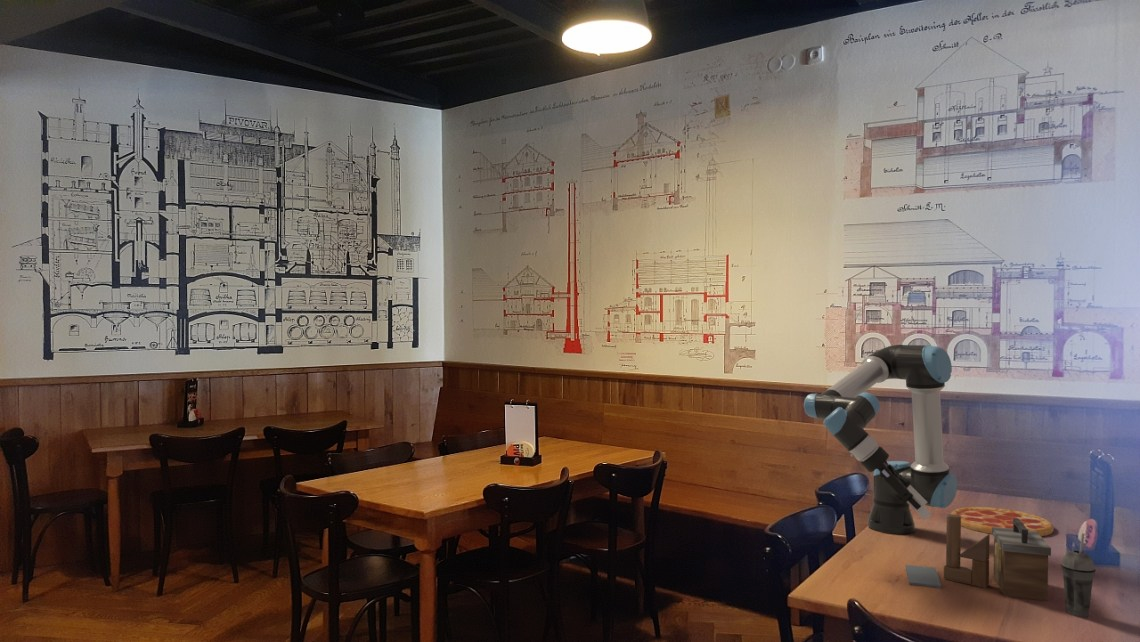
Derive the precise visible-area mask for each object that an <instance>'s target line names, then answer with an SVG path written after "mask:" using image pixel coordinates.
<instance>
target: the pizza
mask: <svg viewBox="0 0 1140 642" xmlns="http://www.w3.org/2000/svg"><path fill="white" fill-rule="evenodd" d="M950 514H955V515H959V516H960V517H961V528H965V529H968V530H971V531H974V532H980V533H983V534H987V535H988V534H990V535H992V527H999V528H1010V529H1013V518H1018V519H1019V520H1020V521H1021V522H1022V523H1023V524H1024V526H1025V527H1026V528H1027V529H1028V530H1031V531H1037V532H1038V534H1039V535H1040V536H1041V537H1042V538H1043V537H1046V536H1049V535H1051V534H1053V532H1054V527H1055V526H1054V525H1053V523H1052V522H1050V521H1049V520H1048V519H1046V518H1043V517H1042V516H1038V515H1036V514H1032V513H1029V512H1025V511H1024V512H1023V511H1018V510H1013V509H1007V508H998V507H988V506H987V507H986V506H969V507H960V508H956V509H954V510H952V511H951V513H950Z"/></svg>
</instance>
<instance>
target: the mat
mask: <svg viewBox="0 0 1140 642" xmlns="http://www.w3.org/2000/svg"><path fill="white" fill-rule="evenodd" d="M905 571H906V575H907V579H908V584H909V585H911V586H912V585H913V586H920V587H926V588H938V589H942V587H943V586H942V583H941V580H940V577H939V574H938V571H937V568H935V567H929V566H921V565H912V564H905Z"/></svg>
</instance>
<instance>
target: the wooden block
mask: <svg viewBox="0 0 1140 642" xmlns="http://www.w3.org/2000/svg"><path fill="white" fill-rule="evenodd" d="M961 529H962V526H961V517H960V516H959V515H955V514H951V513H949V514H947V515H946V545H945V548H946V549H945V551H946V552H945V565H944V567H943V579H944V580H948V581H953V582H958V583H960V584H961V583H962V584H967V585H972V586H974V587H979V588H983V589H986V588H987V587H988V586H989V585H990V539H991V537H990V535H991V534H988V533H987V535H985V536H984V537H982V538H981V539H980V540H978V541H977V542H975V543H974V544H973V545H971V546H970V547H968V548H967V549H965V550H964V551H961V546H962V545H961V544H962V543H961V539H962V538H961V536H962V530H961ZM961 552H962V553H961ZM961 558H964V559H969V560H972V561H971V569H970V567H966V566H961Z"/></svg>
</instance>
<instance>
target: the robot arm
mask: <svg viewBox="0 0 1140 642" xmlns="http://www.w3.org/2000/svg"><path fill="white" fill-rule="evenodd" d="M952 368H953V367H952V360H951V357H950V355H949V353H948V352H947V351H946V350H945V349H944V348H943V347H941V346H933V345H928V344H927V345H925V344H922V345H920V344H919V345H918V344H893V345H888V346H886V347H883V348H881V349H879V350H877V351H876V350H875V352H873V353H870V355H868V356H867V357H865V358H864V359H863V360H862V362H861V365H859V366H858V367H857V368H854V369H853V370H852V371H850V372H849V373H848V374H847V375H845V376H844V377H843V378H841V379H840V380H838V381H837V382H836V383H834V384H833V385H831V386H830V387H829V388H827V389H826V390H824V391H823V392H822V393H810V394H808V395H806V397H805V398H804V402H803V409H804V413H805V415H807V416H808V417H810V418H815V419H817V420H819V419H820V420H821V419H822V420H823V426H824V428H826V429H827V430H828V432H829V433H830V434H831V435H832V436H833V437H834V438H835V439H836V440H837V441H838V442H839V443H840V444H841V445H842V446H843V447H844V448H845V449H846V450H847V451H848V452H849V453H850V457H851V458H855V459H856V460H857V461H858V462H861V465H862V466H863V468H864V469H865V470H866V471H867V472H869V473H872V472H873V475H872V476H873V504H872V507H871V510H870V512H869V516H868V519H867V527H868V528H870V529H871V530H875V531H877V532H882V533H887V534H896V535H897V534H898V535H901V534H902V535H905V534H907V535H908V534H912V533H914V532H915V531H916V524H915V521H914V518H913V515H912V511H911V508H912V509H913V510H914V511H915V512H916V513H917V514H918V515H919V516H920V518H922V519H923V521H925V520H926V519H928V518H929V517H930V516H931V515H933V513H932V512H931V510H929V509H928V507H931V508H938V509H939V508H940V509H946V508H948V507H950V506H951V505H952V503H953V502H954V500H955V497H956V496H957V495H956V494H957V491H958V483H959V482H958V479H957V476H956V475H955V474H953V473H950V466H949V464H947V463H946V462H945V459H944V445H943V444H944V442H943V441H944V440H943V426H942V425H943V424H942V423H943V422H942V406H941V402H942V401H941V391H942V390H943V389H944V388H945V386H946V384H945V383H946V382H948V381H949V380H950V379H951V376H952V375H951V374H952V370H953V369H952ZM892 379H894V380H898V379H899V380H905V384H906V388H907V389H908V390H909V391H910V392H911V403H912V405H911V406H912V419H913V421H912V422H913V425H912V426H913V440H914V441H913V443H914V457H915V458H914V459H915V461H913V462H912V463H910V461H904V460H893V461H891V460H889V461H887V460H888V459H889V456H890V455H889V453H888V452H887V451H886V449H884V448H883V447H882V446H879V443H878V442H877V440H875V438H873V437H872V436H871V435H870V434H869V433H868V432H867V430H865V427H866V426H867V425H869V423H870V422H871V421H873V420H874V418H875V417H876V416H877V414H878V413H879V411H880V409H881V403H880V401H879V399H878V397H876V396H875V395H874V394H873V393H870V392H867V391H868V390H869V389H871V388H872V387H873V386H875V385H876V384H880V383H883V382H885V381H886V380H892ZM926 506H928V507H926ZM910 507H911V508H910Z"/></svg>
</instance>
